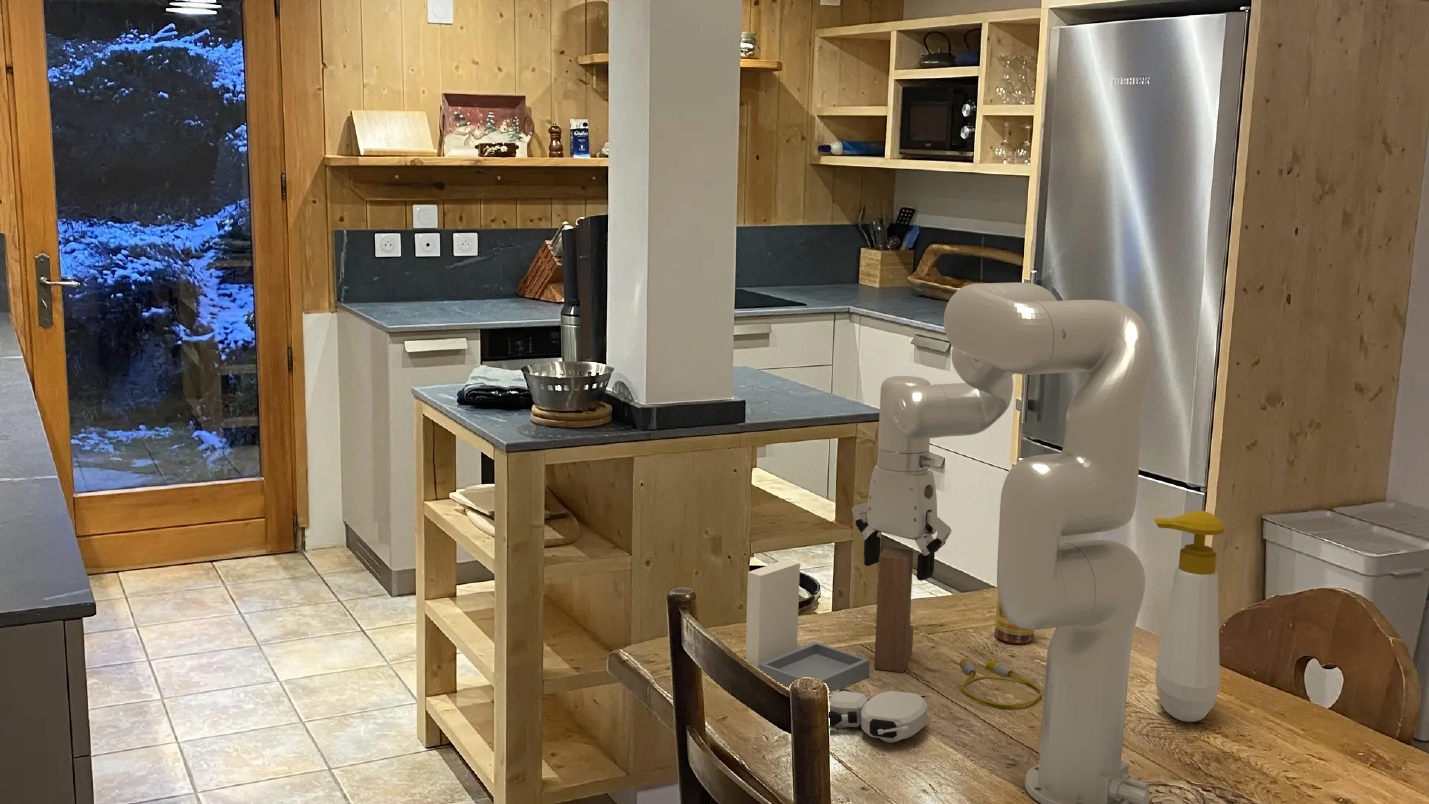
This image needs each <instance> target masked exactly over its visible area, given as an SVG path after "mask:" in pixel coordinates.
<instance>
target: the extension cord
mask: <svg viewBox="0 0 1429 804" xmlns="http://www.w3.org/2000/svg"><path fill="white" fill-rule="evenodd" d="M959 665H960V668H961V671H962V672H964V673H965V674H966V675H968V677H967V678H966V679H965V680H964V681H963V683H962V684H961V691H962V693H963V694H965V696H967V697H968V698H969V699H970V700H972V701H974V702H976V703H977V704H980V705H983V706H988V707H992V708H997V709H998V708H999V709H1004V710H1005V709H1007V710H1021V709H1023V710H1024V709H1028V708H1031V707H1033V706H1035V705H1036V704H1038V703H1039V701H1040V700H1041V699H1042V697H1043V691H1042V689H1041V688H1040V687H1039V686H1037V685H1036V684H1034V683H1032V682H1031V681H1029V680H1026V679H1025V678H1022V677H1020V676H1019V675H1015V674H1014V672H1013V669H1012V668H1010V667H1009V666H1005V665H1004V664H1002V663H1001V662H999V661H998V660H997V659H995V660H992V659H991V660H988V661H987V662H986V664H985V667H984V669H985V670H986V671H988V672H990V673H993V674H996V675H999V676H1002V677H996V676H995V677H994V676H977V677H975V676H976V675H977V668H976V664H974V663H973V662H972V661H970V660H969V658H966V657H964V658H961V660H960V662H959ZM1003 677H1005V678H1003ZM1011 677H1013V678H1015V679H1012V678H1011ZM985 679H987V680H999V681H1007V682H1009V681H1010V682H1014V683H1019V684H1021V685H1022V684H1023V685H1026V686H1029V687H1031V688H1033V689H1035V690H1036V691H1037V692H1038V695H1037V696H1036V697H1035V698H1033V699H1032V700H1028V701H1026V702H1021V703H1007V704H1006V703H998V702H993V701H990V700H989V701H988V700H985V699H983V698H980V697H977V696H976V695H974V694H973V693H972V694H971V693H970V692H969V691H968V690H966V689H965V687H966V685H968V684H970V683H972V682H975V681H977V680H985Z"/></svg>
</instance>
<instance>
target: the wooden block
mask: <svg viewBox="0 0 1429 804" xmlns="http://www.w3.org/2000/svg"><path fill="white" fill-rule="evenodd" d="M913 565H914V550H913V549H909V548H901V547H900V548H899V547H889V546H885V547H884V548H882V551H880V556H879V562H878V571H877V573H878V575H877V594H876V595H877V596H876V597H877V601H876V618H875V621H876V622H875V637H874V638H875V642H874V643H875V644H874V663H873V664H874V665H873V666H874V669H876V670H877V671H878V670H880V671H886V672H887V671H888V672H895V673H904V671H905V669H906V668H907V667H906V666H907V664H908V662H909V660H910V658H911V655H912V654H913V646H914V645H913V642H914V626H913V625H911V608H912V607H911V606H912V605H911V604H912V589H913V587H912V585H913Z"/></svg>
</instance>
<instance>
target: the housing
mask: <svg viewBox="0 0 1429 804" xmlns="http://www.w3.org/2000/svg"><path fill="white" fill-rule="evenodd" d="M800 566H801V563H800V562H797V561H793V560H790V559H783V560H781V561H778V562H774V563H772V564H768V565H766V566H763V567H760V568H756V569H753V570H751V571H750V570H749V571H748V572H747V585H746V586H747V590H746V591H747V593H746V596H747V597H746V622H745V623H746V625H745V626H746V629H745V630H746V632H745V657H746V660H747V661H749V662H750V663H751V664H753V665H754V666H756V667H757V668H759V669H760V670H761V671H763V673H766V675H768V676H770V677H771V678H772V679H774V680H775V681H776V682H779V683H780V684H783V686H785V687H788V688H789V686H790V684H792V682H794V681H795V680H797V679H801V678H803V677H811V678H815V679H819V680H821V681H822V682H824V683H826V684H827V686H828V688H829V691H830V694H831V692H833V691H835V690H841V689H844V688H846V687H848V686H850V685H852V683H853V684H854V682H855V683H857V682H859V681H862V680H864V679H866V678H868V677H870V665H871V664H870V663H871V659H869V658H865V657H863V656H862V657H861V656H859V655H856V654H853V653H850V652H846V651H843V650H841V649H838V648H835V647H833V646H832V647H831V646H829V645H826V644H823V643H820V642H817V641H813V642H810V643H808V644H806V645H805V644H804V645H803V646H800V645H798V636H799V635H798V632H799V631H798V630H799V629H798V628H799V599H800V573H801V572H800V571H801V570H800V568H801V567H800ZM861 679H862V680H861ZM849 684H850V685H849ZM847 685H848V686H847ZM845 686H846V687H845ZM843 687H844V688H843Z"/></svg>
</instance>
